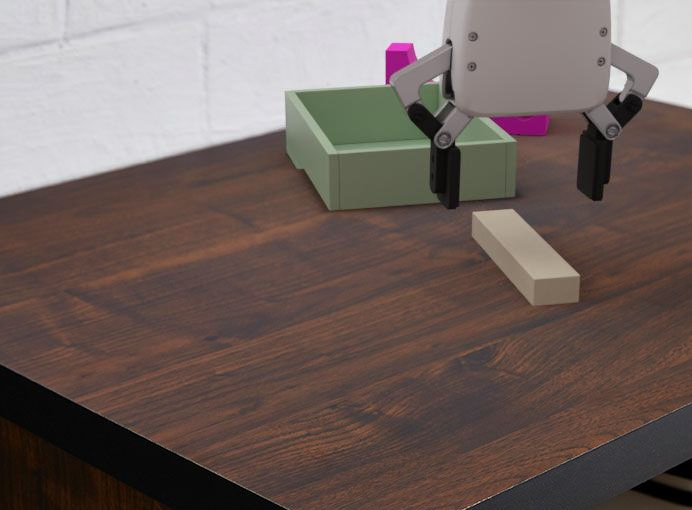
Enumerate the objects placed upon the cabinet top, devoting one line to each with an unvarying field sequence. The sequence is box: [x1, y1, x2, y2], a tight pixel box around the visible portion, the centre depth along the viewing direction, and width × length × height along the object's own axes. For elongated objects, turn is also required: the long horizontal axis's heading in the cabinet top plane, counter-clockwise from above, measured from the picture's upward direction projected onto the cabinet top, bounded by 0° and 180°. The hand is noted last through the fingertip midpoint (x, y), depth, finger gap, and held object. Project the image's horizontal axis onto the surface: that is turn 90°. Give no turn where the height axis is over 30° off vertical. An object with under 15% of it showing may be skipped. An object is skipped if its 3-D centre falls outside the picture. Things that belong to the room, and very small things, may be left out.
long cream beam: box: [471, 208, 581, 307], centre depth 93 cm, size 14×3×3 cm, turn 10°
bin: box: [284, 80, 518, 212], centre depth 115 cm, size 15×22×6 cm
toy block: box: [384, 42, 551, 137], centre depth 131 cm, size 15×6×8 cm, turn 78°
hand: (518, 199), depth 90 cm, fingers open, 9 cm apart
